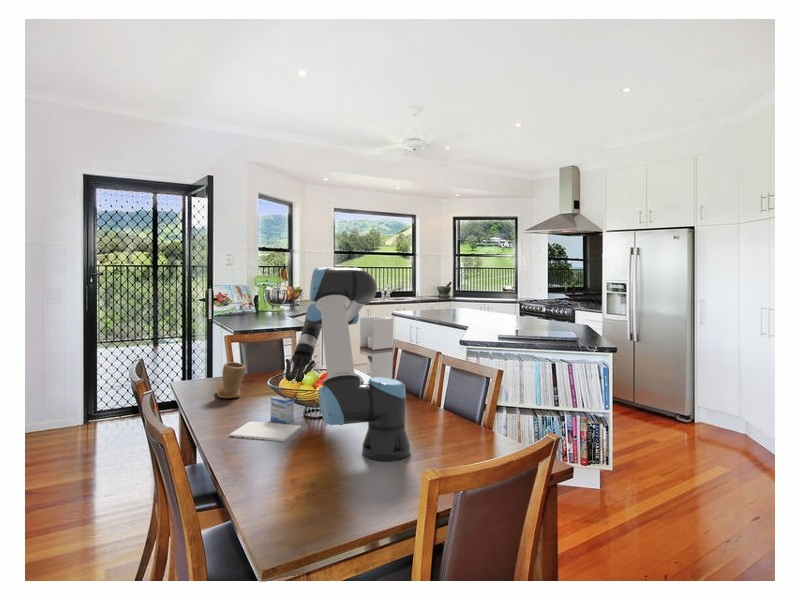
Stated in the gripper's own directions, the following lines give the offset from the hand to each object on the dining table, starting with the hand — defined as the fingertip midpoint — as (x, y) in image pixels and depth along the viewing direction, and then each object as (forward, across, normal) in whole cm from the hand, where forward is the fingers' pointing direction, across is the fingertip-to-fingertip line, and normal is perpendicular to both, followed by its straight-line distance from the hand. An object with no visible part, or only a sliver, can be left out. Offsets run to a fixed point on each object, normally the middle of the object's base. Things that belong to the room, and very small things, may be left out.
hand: (289, 396), depth 184 cm
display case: (-26, -24, -37) cm, 51 cm away
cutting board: (+19, 0, +8) cm, 21 cm away
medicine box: (+10, 0, -1) cm, 10 cm away
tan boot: (-9, +37, -20) cm, 43 cm away
